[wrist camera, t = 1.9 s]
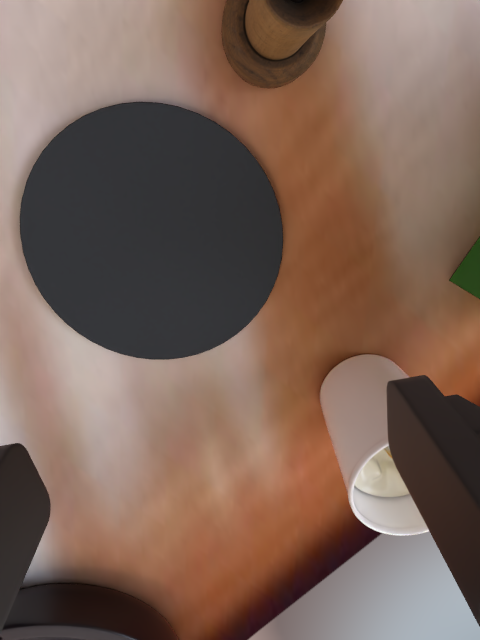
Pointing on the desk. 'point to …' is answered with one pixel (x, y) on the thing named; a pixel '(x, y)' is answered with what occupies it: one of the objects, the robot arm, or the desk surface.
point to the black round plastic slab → (82, 615)
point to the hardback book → (469, 271)
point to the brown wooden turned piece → (274, 37)
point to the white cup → (368, 443)
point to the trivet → (151, 230)
